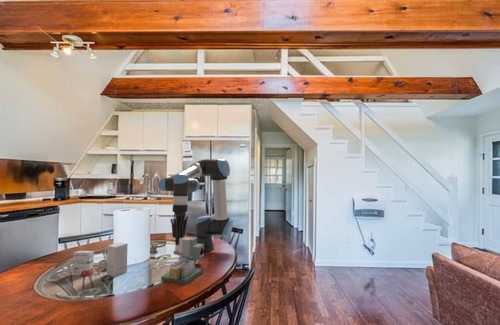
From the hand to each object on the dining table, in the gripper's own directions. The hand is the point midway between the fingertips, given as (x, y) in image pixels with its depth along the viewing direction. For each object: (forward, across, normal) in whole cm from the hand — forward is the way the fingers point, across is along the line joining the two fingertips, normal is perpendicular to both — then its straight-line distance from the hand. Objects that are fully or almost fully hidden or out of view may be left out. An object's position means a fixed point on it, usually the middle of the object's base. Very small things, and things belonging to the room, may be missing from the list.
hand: (178, 250), depth 146 cm
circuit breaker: (+14, -25, -6) cm, 30 cm away
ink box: (+15, +11, -51) cm, 54 cm away
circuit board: (+15, -5, 0) cm, 15 cm away
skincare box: (+15, +4, -35) cm, 38 cm away
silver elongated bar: (+5, -5, 0) cm, 7 cm away
